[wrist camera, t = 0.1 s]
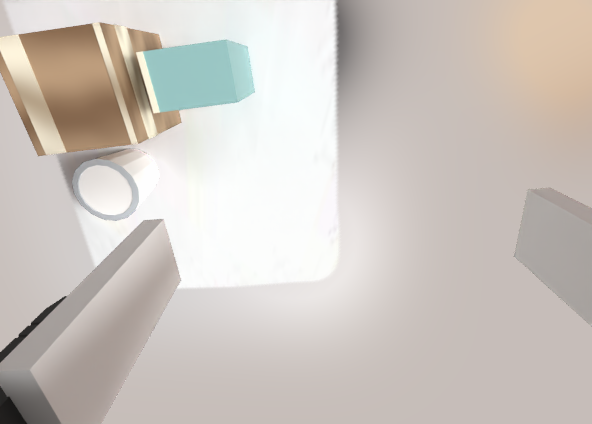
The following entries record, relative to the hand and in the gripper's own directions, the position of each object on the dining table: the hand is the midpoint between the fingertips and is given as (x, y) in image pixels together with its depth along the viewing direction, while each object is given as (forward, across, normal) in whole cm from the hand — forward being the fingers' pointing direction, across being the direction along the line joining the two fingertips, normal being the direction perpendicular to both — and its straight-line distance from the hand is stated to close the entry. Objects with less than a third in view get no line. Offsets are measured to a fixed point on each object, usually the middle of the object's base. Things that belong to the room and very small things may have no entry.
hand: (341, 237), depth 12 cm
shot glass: (+28, -22, -4) cm, 36 cm away
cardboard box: (+28, -20, +6) cm, 35 cm away
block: (+28, -10, +6) cm, 30 cm away
